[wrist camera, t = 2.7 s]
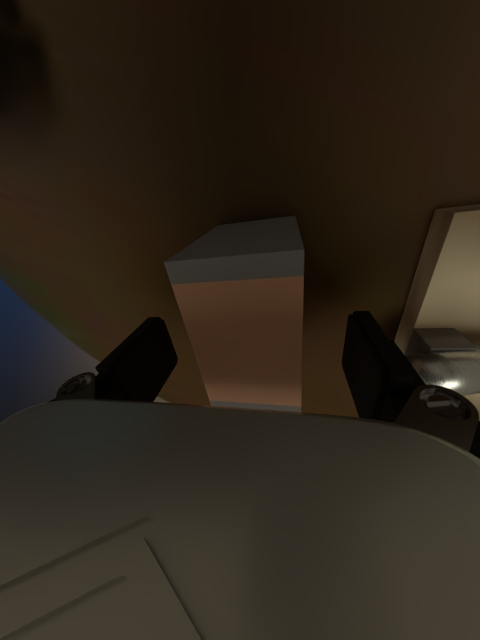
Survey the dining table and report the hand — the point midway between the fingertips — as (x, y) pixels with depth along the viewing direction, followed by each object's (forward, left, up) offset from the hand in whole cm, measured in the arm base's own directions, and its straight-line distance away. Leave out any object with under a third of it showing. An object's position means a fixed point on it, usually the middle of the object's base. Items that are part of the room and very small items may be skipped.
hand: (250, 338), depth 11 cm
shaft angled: (+3, +11, -3) cm, 11 cm away
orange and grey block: (-1, 0, -5) cm, 5 cm away
